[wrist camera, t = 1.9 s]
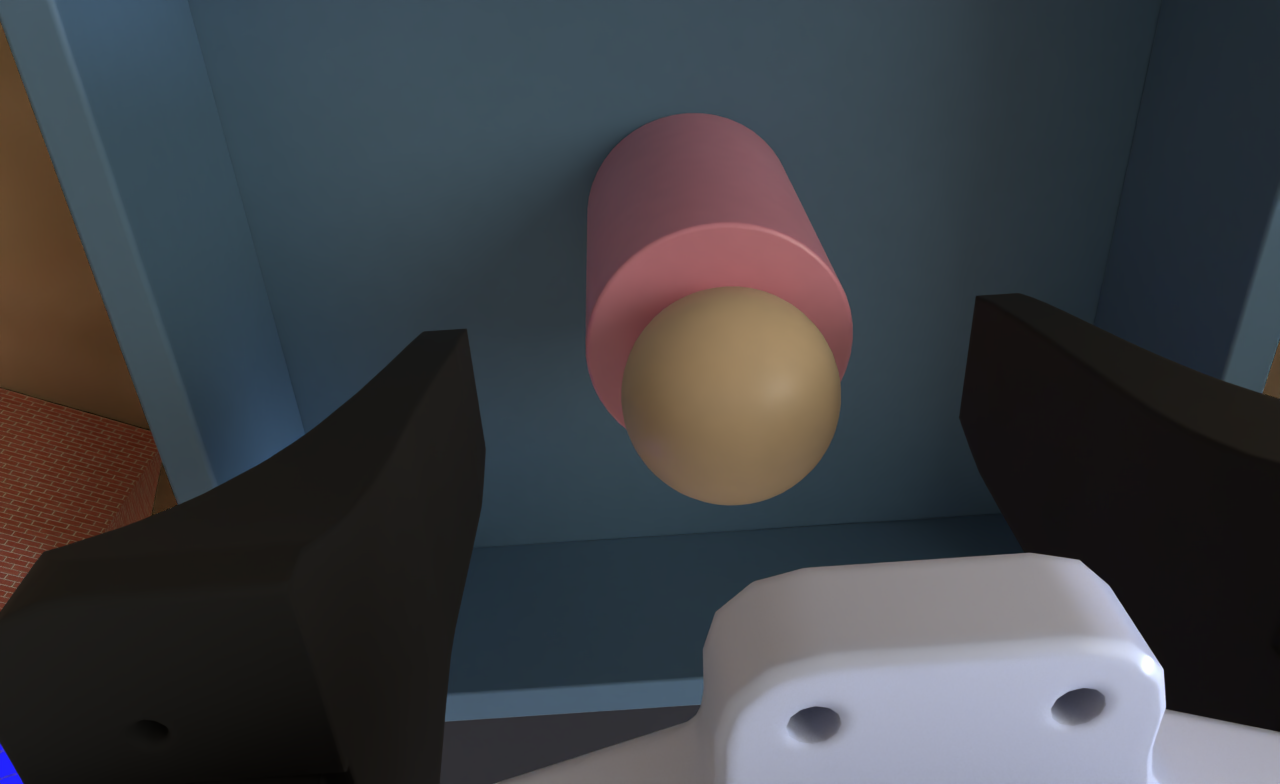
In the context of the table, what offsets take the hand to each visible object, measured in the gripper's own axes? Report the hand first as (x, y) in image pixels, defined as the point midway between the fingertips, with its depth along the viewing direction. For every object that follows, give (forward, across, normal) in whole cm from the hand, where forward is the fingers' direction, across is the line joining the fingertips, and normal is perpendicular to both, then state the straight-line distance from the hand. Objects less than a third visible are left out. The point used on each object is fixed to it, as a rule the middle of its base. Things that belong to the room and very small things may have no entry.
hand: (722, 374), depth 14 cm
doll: (+6, 0, 0) cm, 6 cm away
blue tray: (+7, 0, 0) cm, 7 cm away
